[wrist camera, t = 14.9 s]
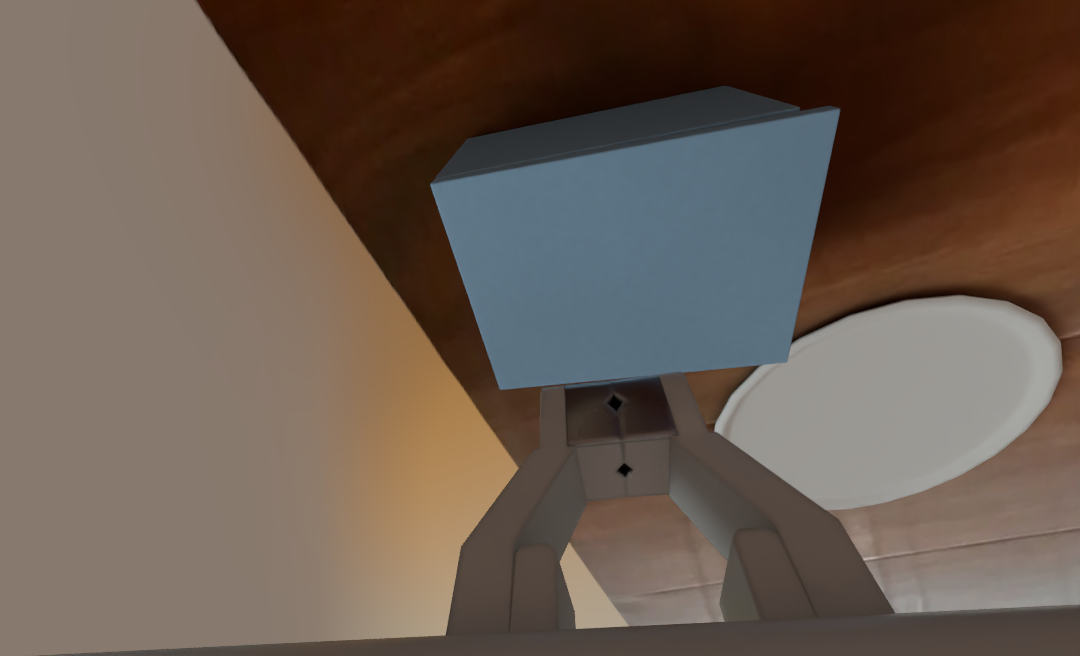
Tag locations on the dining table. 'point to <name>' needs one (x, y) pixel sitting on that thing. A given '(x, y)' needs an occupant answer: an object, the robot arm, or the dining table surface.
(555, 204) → the case lid
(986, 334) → the plate
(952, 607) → the dining table surface
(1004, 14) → the dining table surface
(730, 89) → the case
